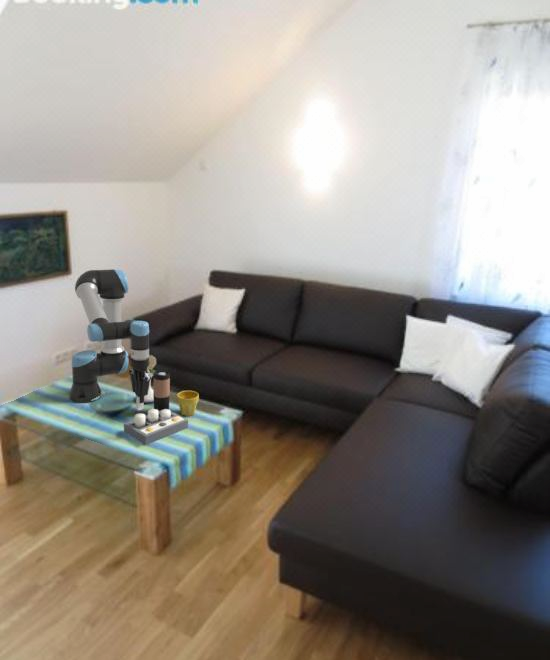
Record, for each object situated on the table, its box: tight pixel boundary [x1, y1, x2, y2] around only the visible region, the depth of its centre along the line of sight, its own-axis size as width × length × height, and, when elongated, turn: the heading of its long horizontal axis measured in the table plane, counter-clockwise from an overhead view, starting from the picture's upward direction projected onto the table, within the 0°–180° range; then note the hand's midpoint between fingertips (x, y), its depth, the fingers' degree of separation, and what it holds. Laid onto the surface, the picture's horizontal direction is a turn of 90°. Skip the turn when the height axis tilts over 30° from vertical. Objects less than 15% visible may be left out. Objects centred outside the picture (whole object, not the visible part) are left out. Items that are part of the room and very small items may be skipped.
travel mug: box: [153, 369, 171, 411], centre depth 238 cm, size 8×8×20 cm
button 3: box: [160, 409, 172, 419], centre depth 228 cm, size 5×5×5 cm
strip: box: [140, 415, 186, 434], centre depth 219 cm, size 4×21×1 cm, turn 140°
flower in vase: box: [144, 354, 157, 403], centre depth 248 cm, size 13×11×25 cm
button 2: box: [147, 408, 158, 424], centre depth 222 cm, size 5×5×5 cm
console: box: [123, 411, 189, 446], centre depth 222 cm, size 16×23×4 cm
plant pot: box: [176, 390, 200, 417], centre depth 240 cm, size 10×10×10 cm
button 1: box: [134, 413, 146, 429], centre depth 217 cm, size 5×5×5 cm
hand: (140, 408), depth 215 cm, fingers closed
